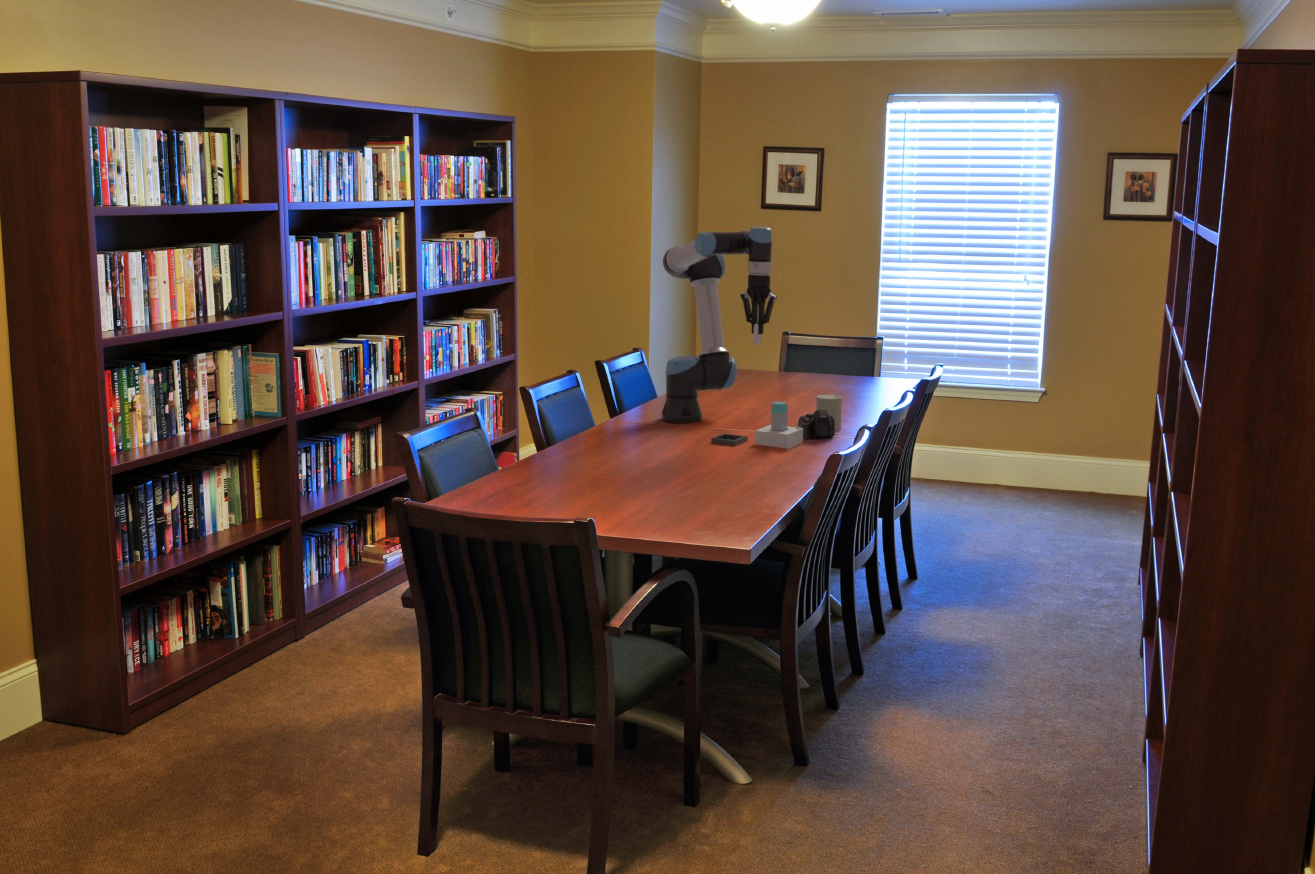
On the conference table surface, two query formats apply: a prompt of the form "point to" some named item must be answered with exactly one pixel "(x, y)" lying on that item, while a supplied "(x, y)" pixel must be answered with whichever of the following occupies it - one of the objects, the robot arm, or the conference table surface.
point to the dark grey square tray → (729, 439)
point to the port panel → (779, 437)
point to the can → (831, 407)
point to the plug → (779, 416)
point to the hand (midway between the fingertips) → (757, 343)
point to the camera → (817, 424)
